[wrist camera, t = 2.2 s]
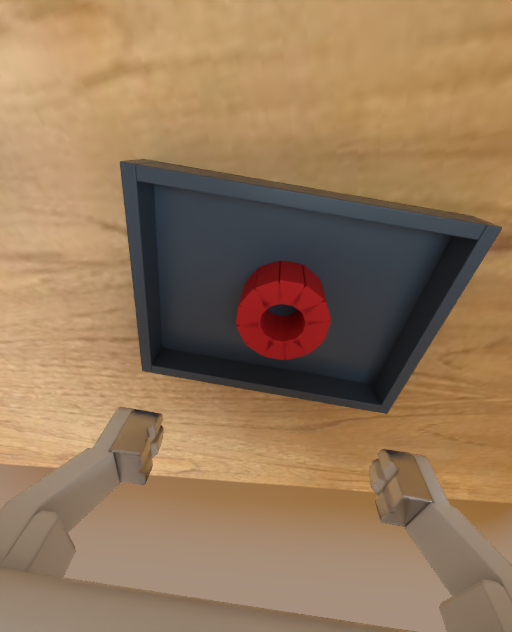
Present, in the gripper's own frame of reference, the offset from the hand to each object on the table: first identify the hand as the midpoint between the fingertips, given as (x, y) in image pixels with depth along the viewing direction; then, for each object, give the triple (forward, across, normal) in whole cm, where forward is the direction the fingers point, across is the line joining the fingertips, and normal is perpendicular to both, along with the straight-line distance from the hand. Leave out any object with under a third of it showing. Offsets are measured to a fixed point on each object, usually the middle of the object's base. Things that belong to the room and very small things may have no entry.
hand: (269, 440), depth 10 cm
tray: (+12, -1, 0) cm, 12 cm away
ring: (+11, 0, 0) cm, 11 cm away
